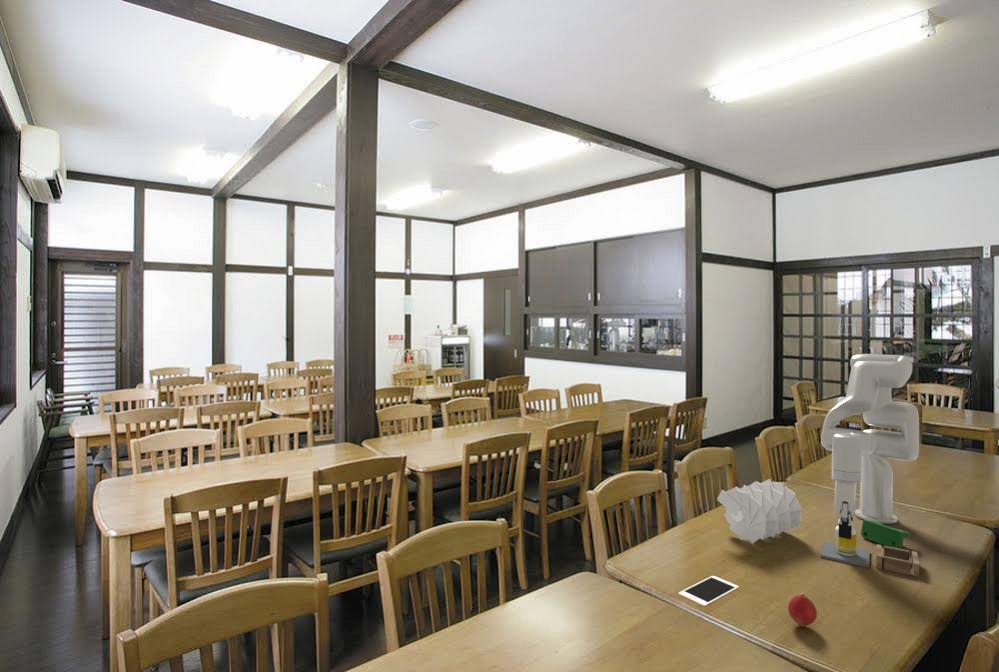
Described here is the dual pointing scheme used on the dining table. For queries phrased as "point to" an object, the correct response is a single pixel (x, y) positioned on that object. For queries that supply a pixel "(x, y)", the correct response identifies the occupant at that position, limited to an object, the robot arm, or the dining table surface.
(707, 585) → the cell phone
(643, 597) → the dining table surface
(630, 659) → the dining table surface
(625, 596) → the dining table surface
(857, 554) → the rubber mat
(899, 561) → the frame
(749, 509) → the white origami shape
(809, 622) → the onion
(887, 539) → the clamp
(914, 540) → the dining table surface
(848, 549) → the supplement bottle
